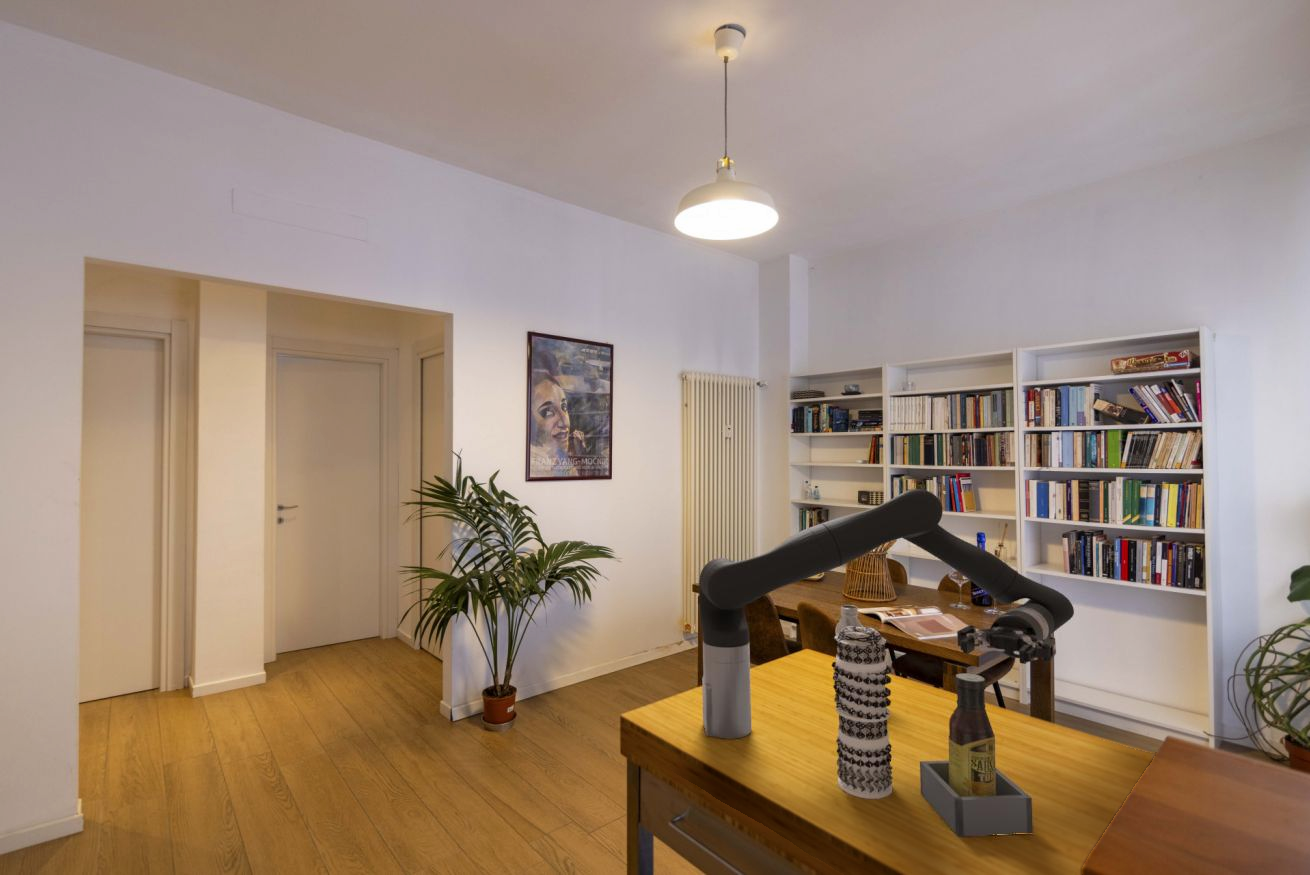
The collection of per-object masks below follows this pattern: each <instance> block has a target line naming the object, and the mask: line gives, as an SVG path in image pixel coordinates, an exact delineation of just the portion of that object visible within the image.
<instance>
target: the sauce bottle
mask: <svg viewBox="0 0 1310 875" xmlns="http://www.w3.org/2000/svg"><path fill="white" fill-rule="evenodd" d="M955 684H956V685H955V686H956V689H957V690H956V692H957V693H956V694H957V696H956V697H957V698H956V699H957V700H956V705H957V706H956V708H955V709H954V710H953V712H952V714H951V715H950V718H949V721H948V733H949V734H948V761H949V786H950V787H951V788H952V790H953V791H954V792H955V793H956V794H957V795H958V796H959V797H977V796H996V768H997V767H996V736H995V733H994V731H993V727H992V725H991V721H990V719H989V716H988V714H987V710H986V702H985V690H986V689H987V688H986V686H987V684H986V679H985V678H984V677H983V676H981V675H979V674H975V673H974V674H973V673H966V672H965V673H957V674H955Z"/></svg>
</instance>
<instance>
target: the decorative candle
mask: <svg viewBox="0 0 1310 875" xmlns="http://www.w3.org/2000/svg"><path fill="white" fill-rule="evenodd" d="M834 640H836V650H837V651H836V655H835V661H833V662H832V663H831V667H832V668H833V676H832V679H833V683H834V684H833V685H832V687H833V689H834V692H835V694H834V696H835V697H834V700H833V701H834V702H835V705H836V706H835V711H836V713H837V714H838V724H839V725H838V727H837V730H838V732H837V739H836V740H835V741H836V744H837V749H836V753H837V756H838V757H837V760H836V765H837V771H836V773H837V776H838V781H837V784H838V786H839V788H840V789H841V790H843V791H844V792H846V793H847V794H848V795H851V796H854V797H857V798H861V799H867V800H879V799H883V798H886V797H889V795H891V794H892V793H893V776H892V774H893V771H892V770H893V766H892V765H891V762H892V755H893V754H891V751H892V748H893V747H892V744H891V743H890V738H889V737H890V736H889V735H890V734H889V730H888V719H890V714H891V713H890V712H891V711H890V709H889V708H888V707H889V706H891V704H892V701H891V700H890V698H888V697H890V696H891V695H892V691H891V689H890V688H889V687H888V686H887V685H889V684H890V683H891V682H892V678H891V677H890V676H889V674H891V673H892V668H891V666H889V665H887V658H886V653H885V652H886V650H885V649H886V647H885V645H886V643H887V639H886V638H885V637H883V636H882V635H881V633H880V632H879V631H878V630H876V629H875V628H873V627H869V626H865V625H862V626H848V627H845V628H843V629H842V630H841V631H840V633H839V634H838V635H836V634H835V636H834ZM838 675H839V679H838ZM837 686H839V687H838V688H837Z"/></svg>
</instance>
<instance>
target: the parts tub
mask: <svg viewBox="0 0 1310 875" xmlns="http://www.w3.org/2000/svg"><path fill="white" fill-rule="evenodd" d="M995 768H996V796H977V797H959V796H958V795H957V794H956V793H955V792H954V791H953V790H952V788H951V787H950V786H949V760H926V761H925V760H923V761H922V760H921V761H919V777H920V779H919V780H920V795H921V796H922V797H923V798H924V799H925V800H926V801H927V803H928V804H929V805H930V806H931V807H932V808H933V809H934V811H935V812H936V813H937V814H938V815H939V816H940V817H941V819H942V818H943V819H944V820H945V821H944V820H943V819H942V820H943V821H944V822H945V823H946V822H947V823H946V825H948V827H949V826H950V827H951V828H950V827H949V828H950V829H951V830H952V831H953V832H954V834H956V836H957V837H958V838H964V837H965V836H966V837H965V838H968V837H967V836H973V837H984V836H983V835H993V834H994V835H997V834H1014V833H1015V834H1016V833H1033V834H1034V825H1033V824H1034V823H1033V821H1034V820H1033V802H1032V801H1033V800H1032V796H1030V795H1029V794H1027V792H1026V791H1025V790H1023V789H1022V788H1021V787H1019V786H1018V785H1017V784H1016V783H1015V782H1014V781H1012V780H1011V779H1010V778H1009V777H1007V776H1006V775H1005V774H1004V773H1003V772H1001V771H1000V770H999V769H998V768H997V767H995ZM981 835H982V836H981Z"/></svg>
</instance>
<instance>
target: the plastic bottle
mask: <svg viewBox="0 0 1310 875" xmlns="http://www.w3.org/2000/svg"><path fill="white" fill-rule="evenodd" d="M858 608H859V607H858V606H856V605H851V604H845V605H841V607H840V616H841V618H840V619H839V621H838V622H837V624H836V626H835V629H834V630H835V636H836V635H838V634H839V633H840V631H841V630H842V629H843V628H845V627H848V626H863V624H862V623H861V621H860V620H859V619H858V617H859V612H858V610H859V609H858ZM838 679H839V675H838ZM838 687H839V686H837V688H838Z"/></svg>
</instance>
